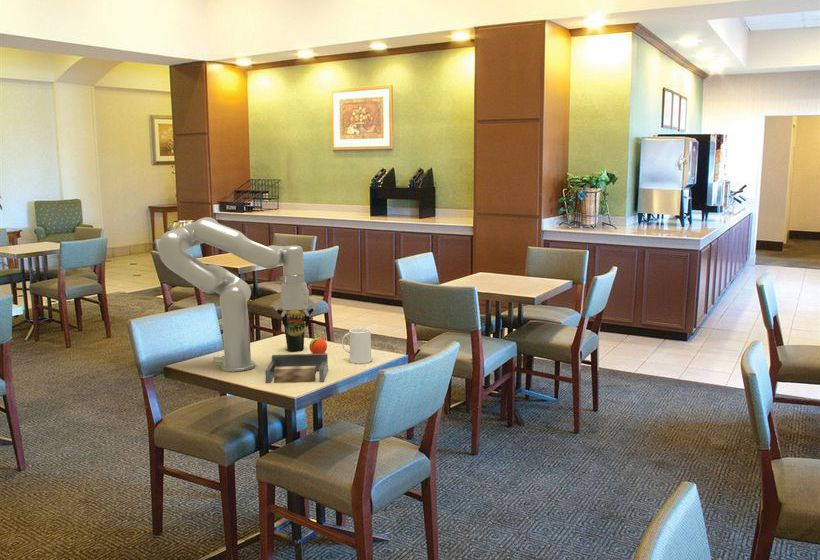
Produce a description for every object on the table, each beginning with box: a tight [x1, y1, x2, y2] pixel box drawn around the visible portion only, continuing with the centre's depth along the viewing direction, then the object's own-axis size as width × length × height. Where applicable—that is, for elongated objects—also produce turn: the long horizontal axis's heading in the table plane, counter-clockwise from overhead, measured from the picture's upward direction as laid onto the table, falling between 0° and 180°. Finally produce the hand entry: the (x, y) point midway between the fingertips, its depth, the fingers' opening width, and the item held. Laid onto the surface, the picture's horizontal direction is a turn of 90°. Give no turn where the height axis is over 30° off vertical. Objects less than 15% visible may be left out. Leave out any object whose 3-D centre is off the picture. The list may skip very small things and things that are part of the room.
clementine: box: [308, 337, 328, 354], centre depth 274 cm, size 8×7×7 cm
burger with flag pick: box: [285, 310, 306, 336], centre depth 258 cm, size 8×7×12 cm
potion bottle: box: [284, 316, 305, 353], centre depth 282 cm, size 8×8×18 cm
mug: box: [341, 327, 373, 365], centre depth 265 cm, size 12×8×12 cm
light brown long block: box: [273, 366, 317, 383], centre depth 241 cm, size 14×3×5 cm, turn 92°
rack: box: [264, 353, 329, 384], centre depth 247 cm, size 20×15×6 cm
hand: (296, 326), depth 259 cm, fingers closed on burger with flag pick, 7 cm apart
